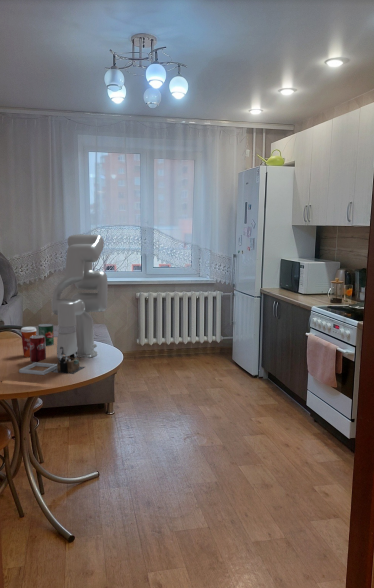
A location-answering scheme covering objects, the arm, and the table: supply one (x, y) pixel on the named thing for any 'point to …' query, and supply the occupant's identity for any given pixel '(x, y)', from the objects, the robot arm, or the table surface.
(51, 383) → the table surface
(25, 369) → the tray
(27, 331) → the paper cup
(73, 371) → the grey peg base
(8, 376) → the table surface
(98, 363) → the table surface
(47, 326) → the canned tomato
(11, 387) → the table surface
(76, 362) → the brown hollow square block
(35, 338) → the soda can
